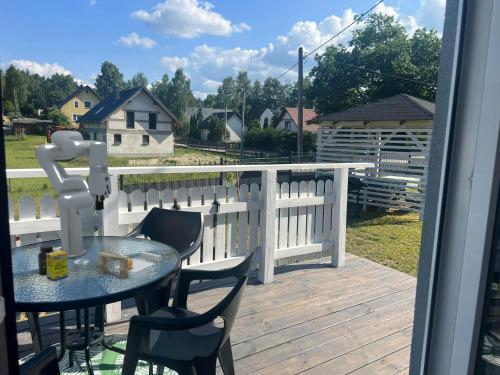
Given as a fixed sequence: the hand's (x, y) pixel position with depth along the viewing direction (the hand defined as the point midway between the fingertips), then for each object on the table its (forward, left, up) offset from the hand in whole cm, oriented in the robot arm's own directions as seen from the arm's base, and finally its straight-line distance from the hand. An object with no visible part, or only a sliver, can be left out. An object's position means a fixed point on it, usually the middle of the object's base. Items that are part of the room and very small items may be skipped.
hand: (99, 209), depth 169 cm
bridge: (+6, -12, -27) cm, 30 cm away
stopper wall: (+23, +5, -27) cm, 36 cm away
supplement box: (-17, -9, -27) cm, 33 cm away
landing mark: (+15, -2, -27) cm, 31 cm away
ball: (+11, -6, -24) cm, 27 cm away
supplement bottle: (-22, -2, -27) cm, 35 cm away
